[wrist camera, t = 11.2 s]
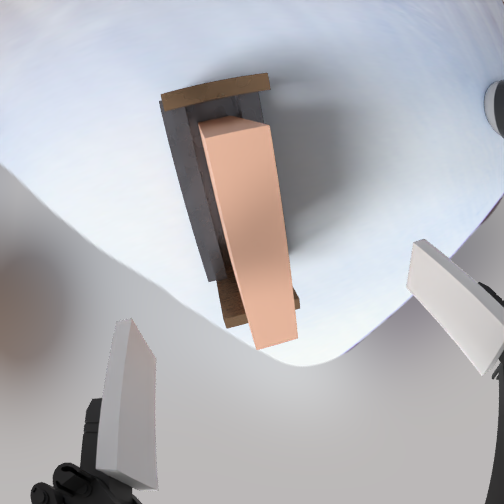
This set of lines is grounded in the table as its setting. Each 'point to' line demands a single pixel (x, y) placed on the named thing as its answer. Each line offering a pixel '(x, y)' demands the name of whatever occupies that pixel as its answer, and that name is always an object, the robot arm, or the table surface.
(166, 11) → the table surface
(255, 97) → the door track
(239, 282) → the door panel
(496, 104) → the pump dispenser
